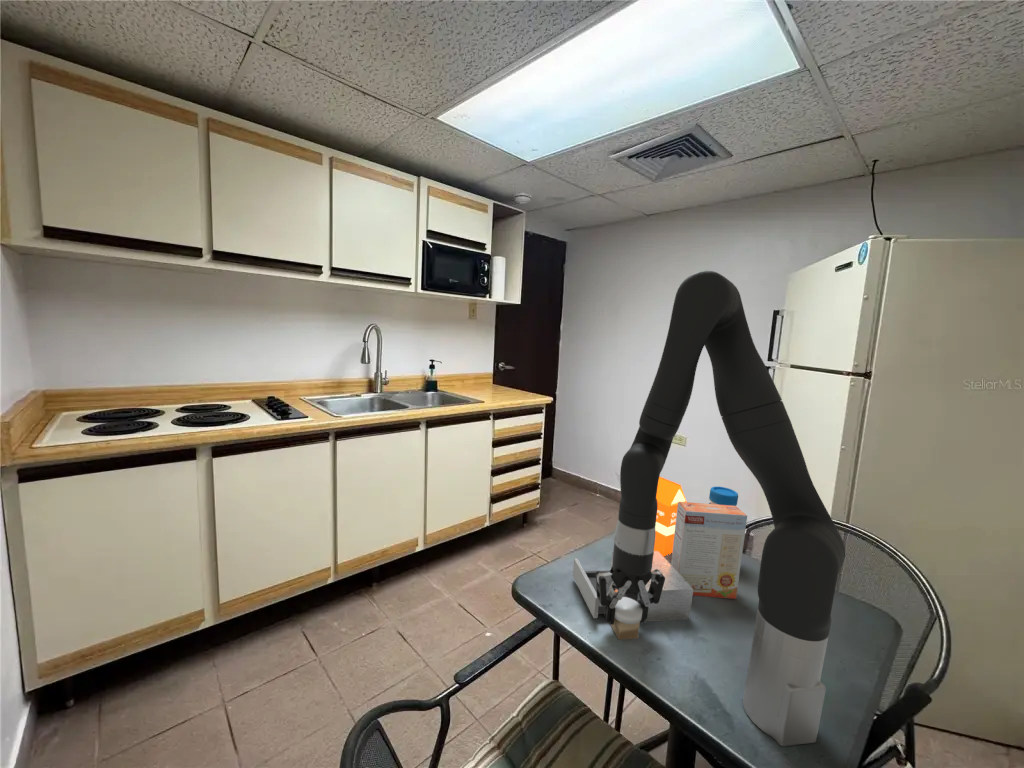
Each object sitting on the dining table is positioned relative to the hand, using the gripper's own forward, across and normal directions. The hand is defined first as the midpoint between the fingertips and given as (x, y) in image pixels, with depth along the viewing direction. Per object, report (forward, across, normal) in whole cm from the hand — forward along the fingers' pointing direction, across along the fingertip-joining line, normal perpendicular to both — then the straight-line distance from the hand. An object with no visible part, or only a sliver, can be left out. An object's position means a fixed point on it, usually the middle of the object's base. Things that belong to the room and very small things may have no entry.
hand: (625, 620), depth 83 cm
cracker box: (+3, +25, +12) cm, 28 cm away
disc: (-2, 0, 0) cm, 2 cm away
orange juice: (+3, +25, +32) cm, 41 cm away
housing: (+2, +10, +10) cm, 14 cm away
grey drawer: (+1, 0, +10) cm, 10 cm away
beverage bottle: (+3, +37, +24) cm, 44 cm away
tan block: (+2, 0, 0) cm, 2 cm away
